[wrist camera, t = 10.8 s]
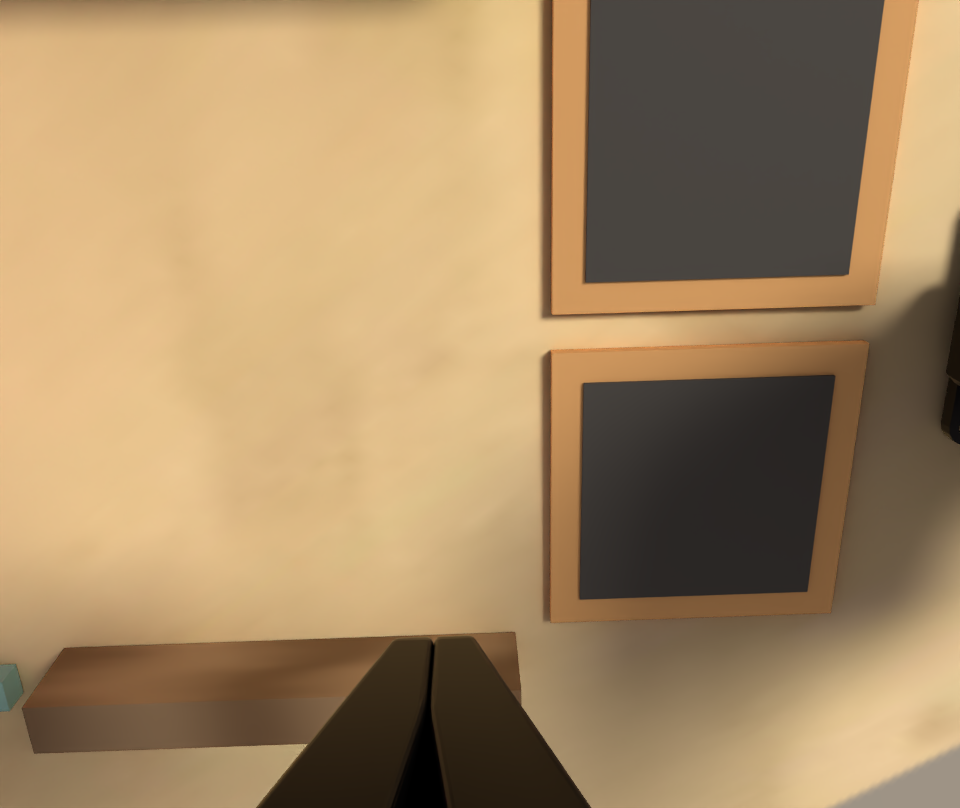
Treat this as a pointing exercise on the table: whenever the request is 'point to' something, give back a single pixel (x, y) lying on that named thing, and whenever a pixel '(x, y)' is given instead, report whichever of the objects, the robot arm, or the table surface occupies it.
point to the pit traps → (713, 293)
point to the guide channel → (210, 692)
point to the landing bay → (9, 686)
